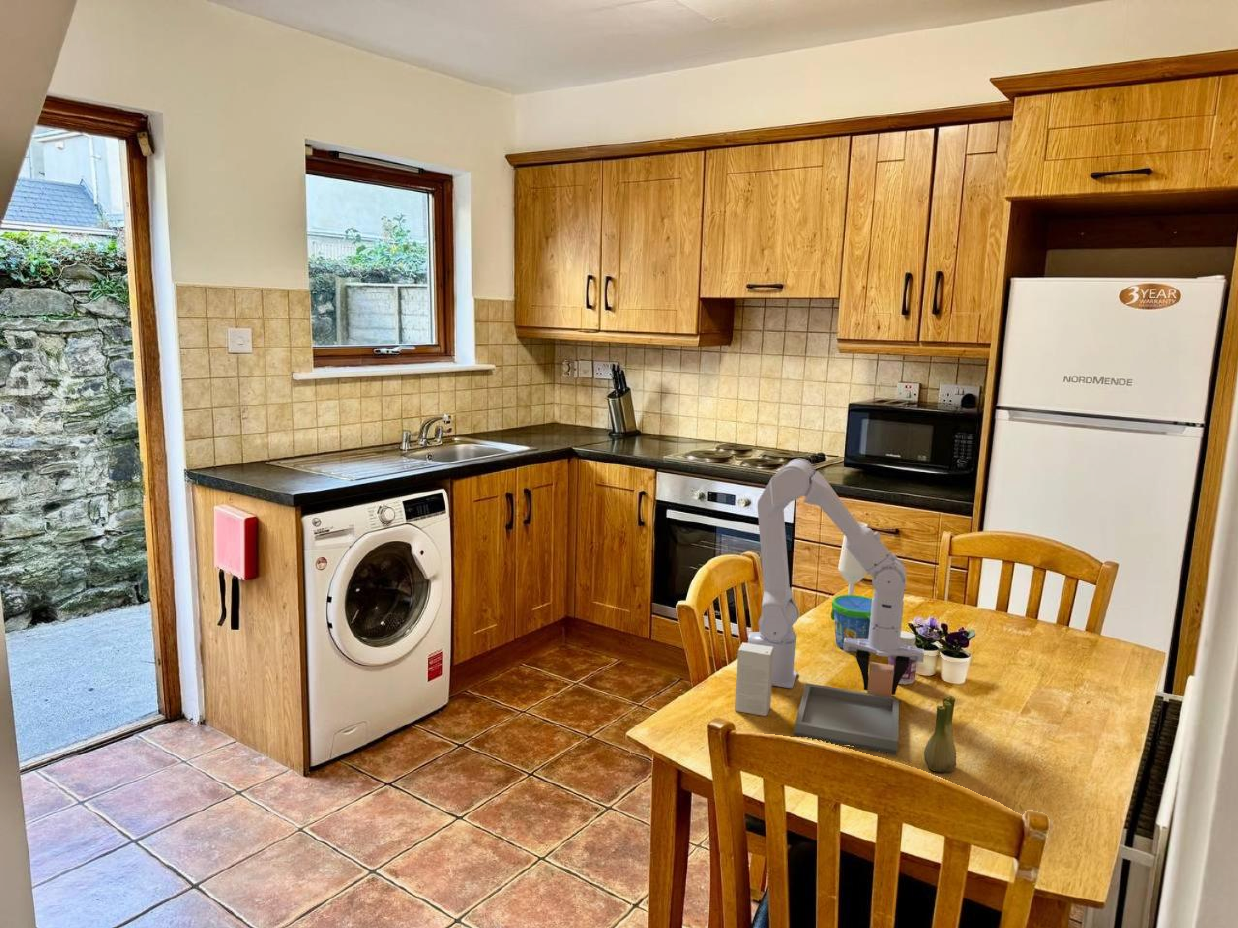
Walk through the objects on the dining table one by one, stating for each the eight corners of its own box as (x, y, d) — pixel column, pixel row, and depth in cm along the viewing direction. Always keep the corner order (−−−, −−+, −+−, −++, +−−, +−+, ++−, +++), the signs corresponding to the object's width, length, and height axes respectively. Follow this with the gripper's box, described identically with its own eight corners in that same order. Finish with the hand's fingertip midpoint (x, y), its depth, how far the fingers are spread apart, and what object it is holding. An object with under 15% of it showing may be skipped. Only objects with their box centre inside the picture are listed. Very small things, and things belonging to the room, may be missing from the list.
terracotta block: (866, 700, 163) (869, 670, 162) (867, 690, 167) (870, 661, 166) (890, 704, 161) (893, 674, 160) (890, 694, 166) (893, 665, 164)
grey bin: (793, 736, 148) (794, 723, 148) (804, 695, 164) (805, 682, 164) (896, 755, 143) (898, 741, 143) (897, 710, 159) (898, 698, 158)
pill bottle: (916, 687, 169) (921, 641, 167) (888, 683, 170) (892, 638, 168) (912, 675, 174) (917, 630, 173) (885, 672, 175) (890, 628, 174)
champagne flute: (857, 629, 198) (866, 529, 194) (829, 622, 202) (837, 524, 198) (866, 621, 204) (875, 523, 200) (839, 614, 208) (847, 518, 203)
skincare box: (770, 707, 159) (774, 646, 157) (766, 717, 155) (771, 655, 153) (738, 701, 161) (742, 641, 158) (733, 711, 157) (737, 649, 154)
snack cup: (894, 659, 182) (898, 614, 180) (848, 662, 180) (852, 616, 178) (857, 631, 197) (861, 589, 195) (815, 634, 195) (819, 591, 193)
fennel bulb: (935, 778, 136) (943, 708, 134) (913, 763, 141) (920, 695, 138) (963, 771, 139) (971, 702, 136) (940, 756, 143) (948, 689, 141)
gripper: (844, 624, 160) (839, 692, 162) (926, 636, 155) (919, 705, 158) (847, 612, 166) (841, 677, 169) (926, 623, 162) (919, 690, 165)
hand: (879, 690), depth 164 cm, fingers closed on terracotta block, 4 cm apart
